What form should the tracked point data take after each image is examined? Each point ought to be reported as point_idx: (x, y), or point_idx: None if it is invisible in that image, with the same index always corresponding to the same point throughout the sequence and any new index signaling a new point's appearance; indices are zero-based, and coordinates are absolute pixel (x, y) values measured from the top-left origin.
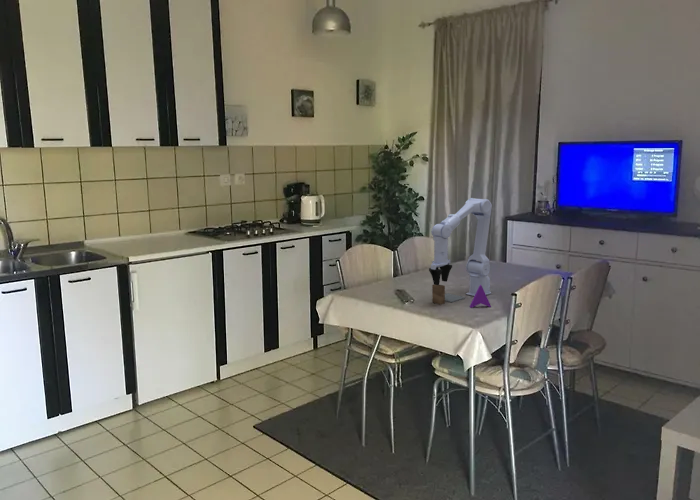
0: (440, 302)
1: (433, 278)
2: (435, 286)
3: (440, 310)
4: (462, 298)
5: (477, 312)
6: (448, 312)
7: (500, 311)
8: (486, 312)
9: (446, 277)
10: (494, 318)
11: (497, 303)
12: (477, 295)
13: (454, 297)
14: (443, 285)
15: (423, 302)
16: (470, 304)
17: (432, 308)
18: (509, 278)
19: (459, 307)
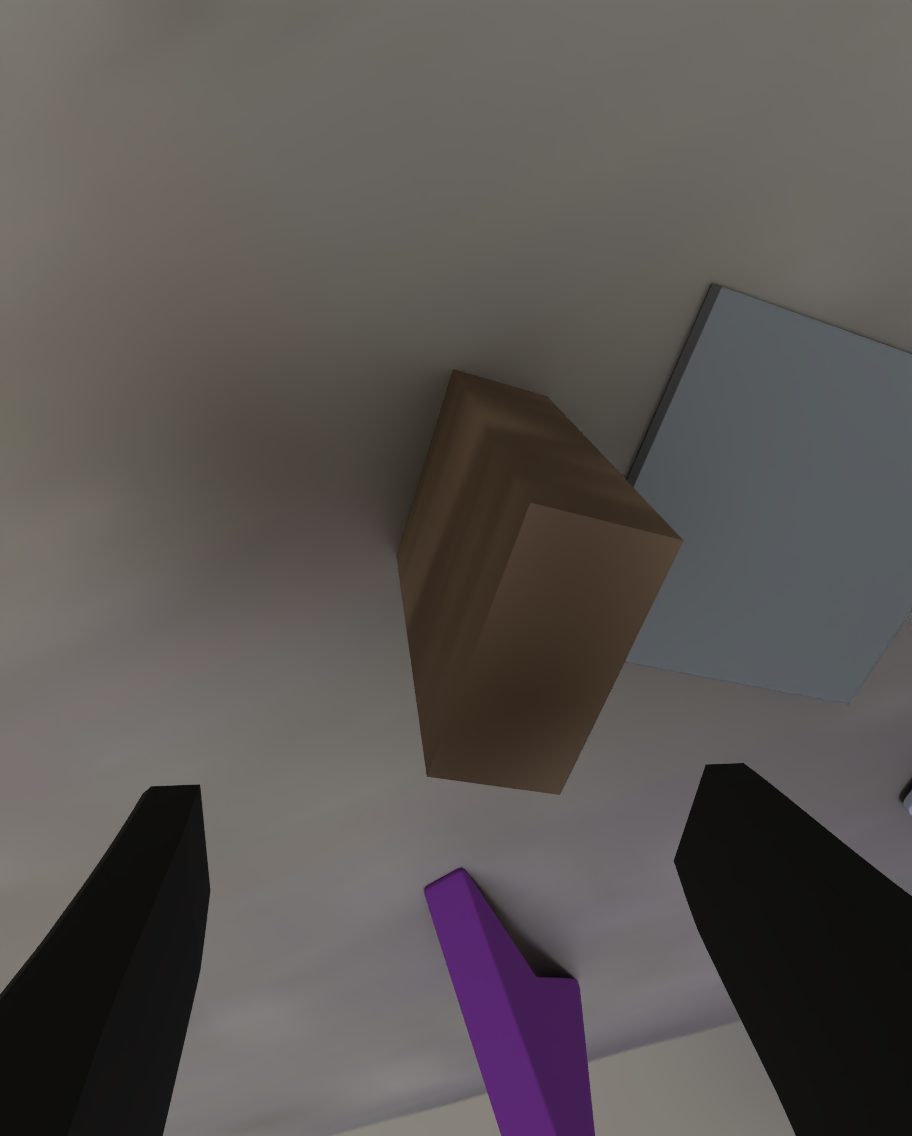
0: (402, 557)
1: (48, 991)
2: (481, 597)
3: (82, 676)
4: (787, 690)
5: (288, 991)
6: (70, 792)
7: (436, 1087)
8: (338, 1036)
9: (735, 972)
10: (188, 1132)
11: (699, 987)
12: (493, 1090)
13: (803, 594)
14: (564, 767)
15: (371, 200)
16: (469, 901)
17: (98, 533)
18: None
19: (379, 800)
